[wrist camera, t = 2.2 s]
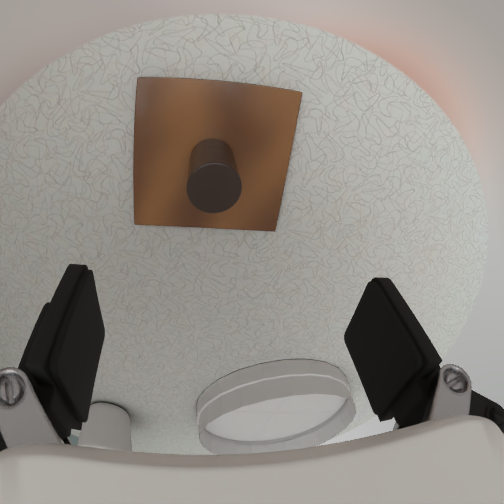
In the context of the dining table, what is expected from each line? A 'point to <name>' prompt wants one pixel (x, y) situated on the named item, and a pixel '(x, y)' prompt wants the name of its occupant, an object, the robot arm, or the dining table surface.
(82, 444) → the cup
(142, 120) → the square peg stand
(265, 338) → the dining table surface
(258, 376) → the dish
